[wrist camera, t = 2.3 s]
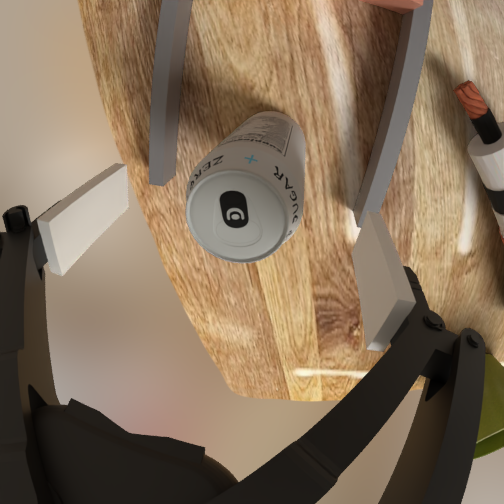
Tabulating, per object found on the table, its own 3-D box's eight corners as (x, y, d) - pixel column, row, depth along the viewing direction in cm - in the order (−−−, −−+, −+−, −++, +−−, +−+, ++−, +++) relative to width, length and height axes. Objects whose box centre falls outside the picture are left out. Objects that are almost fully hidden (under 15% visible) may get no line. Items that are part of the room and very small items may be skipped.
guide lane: (184, -36, 16) (160, -51, 12) (421, 3, 15) (443, -7, 11) (162, 172, 29) (139, 192, 25) (367, 215, 28) (376, 242, 24)
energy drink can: (243, 174, 28) (188, 272, 16) (234, 112, 25) (160, 163, 13) (307, 171, 27) (304, 273, 15) (303, 107, 23) (299, 152, 11)
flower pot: (477, 332, 34) (505, 423, 21) (523, 342, 34) (549, 415, 21) (424, 385, 43) (435, 465, 30) (475, 389, 43) (488, 456, 30)
